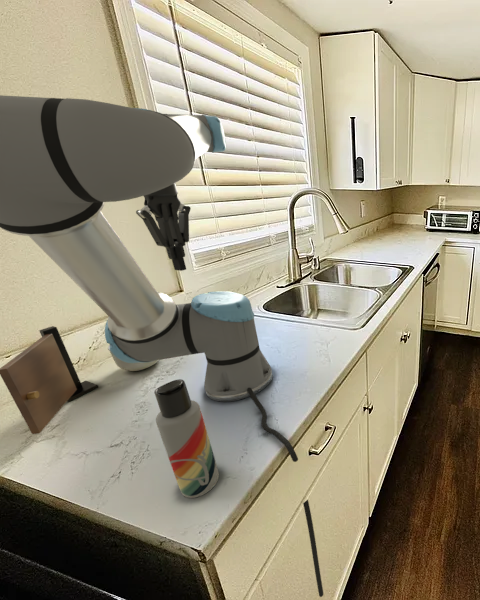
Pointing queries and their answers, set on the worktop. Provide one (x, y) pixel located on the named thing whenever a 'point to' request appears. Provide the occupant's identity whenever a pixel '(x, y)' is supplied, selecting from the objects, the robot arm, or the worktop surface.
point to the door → (39, 382)
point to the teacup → (131, 364)
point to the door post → (69, 365)
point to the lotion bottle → (185, 439)
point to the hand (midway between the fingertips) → (180, 269)
